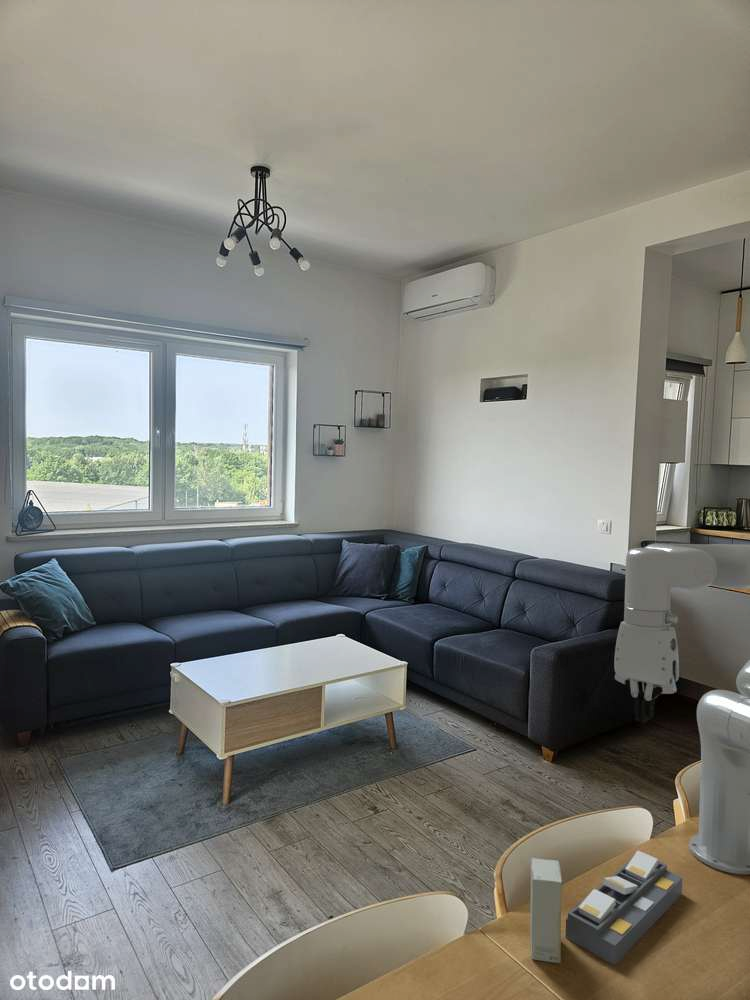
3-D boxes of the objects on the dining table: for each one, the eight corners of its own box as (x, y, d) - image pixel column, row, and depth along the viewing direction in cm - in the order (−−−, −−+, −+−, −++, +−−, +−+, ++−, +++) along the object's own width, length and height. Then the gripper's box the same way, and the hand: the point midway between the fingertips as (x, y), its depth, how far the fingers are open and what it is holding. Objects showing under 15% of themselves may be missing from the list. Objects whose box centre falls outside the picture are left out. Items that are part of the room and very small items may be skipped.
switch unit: (636, 873, 119) (637, 852, 119) (681, 894, 113) (682, 871, 113) (565, 937, 101) (566, 912, 101) (614, 965, 96) (615, 938, 96)
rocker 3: (638, 855, 117) (637, 850, 116) (658, 863, 114) (657, 858, 114) (625, 873, 113) (625, 868, 113) (646, 882, 111) (645, 877, 110)
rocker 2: (616, 882, 111) (617, 875, 111) (636, 892, 108) (638, 885, 108) (603, 884, 108) (604, 877, 108) (624, 894, 105) (625, 887, 105)
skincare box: (560, 965, 96) (563, 883, 95) (530, 960, 96) (532, 879, 96) (557, 936, 102) (559, 859, 101) (528, 931, 103) (530, 856, 102)
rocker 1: (594, 894, 106) (594, 888, 105) (615, 904, 103) (615, 898, 103) (578, 912, 102) (578, 906, 102) (600, 924, 100) (600, 918, 99)
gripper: (698, 622, 113) (695, 726, 113) (616, 608, 124) (613, 704, 124) (681, 628, 108) (678, 737, 108) (597, 613, 119) (594, 713, 119)
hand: (643, 719), depth 116 cm, fingers closed
